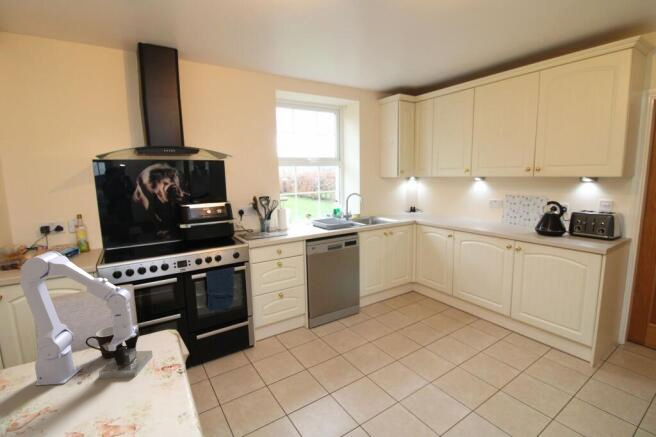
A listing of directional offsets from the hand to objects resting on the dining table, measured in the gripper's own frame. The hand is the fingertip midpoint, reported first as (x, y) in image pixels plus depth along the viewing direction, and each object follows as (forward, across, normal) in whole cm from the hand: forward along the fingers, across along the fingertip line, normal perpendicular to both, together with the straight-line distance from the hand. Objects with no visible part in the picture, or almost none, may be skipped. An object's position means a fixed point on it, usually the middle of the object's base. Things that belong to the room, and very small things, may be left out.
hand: (126, 358), depth 112 cm
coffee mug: (+4, +9, +12) cm, 15 cm away
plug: (+3, 0, 0) cm, 3 cm away
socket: (+3, 0, 0) cm, 3 cm away
